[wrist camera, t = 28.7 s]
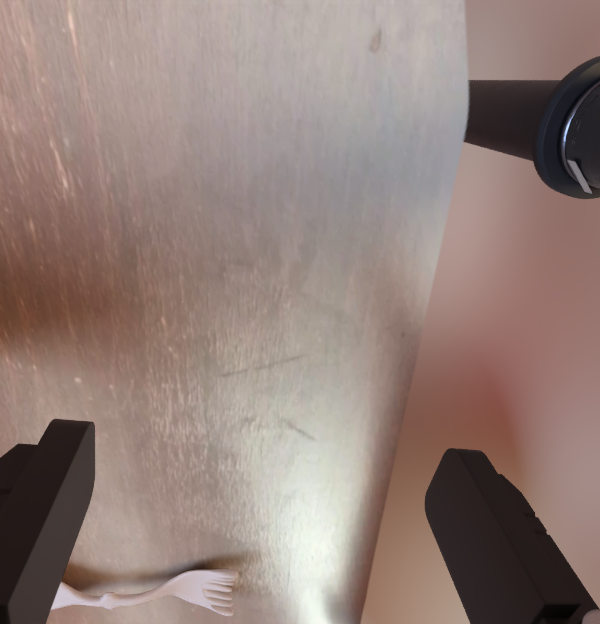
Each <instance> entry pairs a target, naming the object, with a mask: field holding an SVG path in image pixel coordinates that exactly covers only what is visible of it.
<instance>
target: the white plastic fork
mask: <svg viewBox="0 0 600 624" xmlns="http://www.w3.org/2000/svg"><path fill="white" fill-rule="evenodd" d="M237 577H238V572H236V571H234V570H229V569H214V570H191V571H187V572H184V573H181V574H179V575H177V576H176V577H174V578H172V579H171V580H169V581H167V582H165V583H164V584H162V585H160V586H158V587H156V588H154V589H152V590H150V591H147V592H144V593H140V594H132V595H121V594H115V593H113V592H107V593H105V594H104V595H103V596H91V595H87V594H84V593H81V592H79V591H77V590H75V589H74V588H72V587H70V586H69V585H67V584H66V583H64V582H62V581H61V583H60V586H59V588H58V591H57V594H56V597H55V599H54V602H53V605H52V607H51V610H54V609H57V608H61V607H65V606H69V605H74V604H79V605H88V606H100V607H104V608H106V609H114V608H115V607H119V606H128V605H137V604H142V603H146V602H149V601H152V600H154V599H157V598H159V597H162V596H165V595H175V596H178V597H180V598H182V599H184V600H186V601H188V602H191V603H194V604H197V605H201V606H204V607H206V608H209V609H211V610H213V611H215V612H217V613H220V614H222V615H225V616H232V615H233V614H234V610H233V609H231V608H228V607H231V606H233V604H232V603H231V602H229V601H227V600H232V599H233V598H232V597H231V596H230V595H228V594H226V593H224V592H231V591H232V589H231V588H230V587H229V586H227V585H234V582H232V581H235V580H236V579H235V578H237ZM222 591H223V592H222Z"/></svg>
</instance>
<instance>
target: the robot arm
mask: <svg viewBox="0 0 600 624" xmlns="http://www.w3.org/2000/svg"><path fill="white" fill-rule="evenodd" d="M557 155H558V160H559V163H560V166H561V168H562V170H563V171H564V173H565V174H566V175H567V176H568V177H569V178H570V179H571V180H573V181H574V182H577V183H579V184H581V186H582V188H583V189H584V191H585V192H588V193H591V194H592V192H591V190H590V188H589V187H594V188H599V189H600V78H599V79H597V80H596V81H594V82H593V83H592V84H590V85H589V86H588V87H587V88H585V89H584V90H583V91H582V92H581V93H580V95H579V96H578V97H577V98H576V99H575V101H574V102H573V103H572V105H571V106H570V108H569V109H568V111H567V113H566V115H565V117H564V119H563V121H562V124H561V127H560V130H559V134H558V140H557ZM94 480H95V425H94V423H93V422H88V421H75V420H62V419H54V420H52V421H51V422H50V424H49V425H48V427H47V429H46V431H45V432H44V434H43V436H42V438H41V440H40V441H39V443H38V445H31V444H17V445H16V446H15V447H13V448H12V449H11V450H10V451H8V452H7V453H6V454H5V455H3V456H2V457H1V458H0V624H46V621H47V618H48V616H49V613H50V610H51V607H52V605H53V602H54V599H55V597H56V594H57V591H58V588H59V586H60V583H61V580H62V577H63V575H64V572H65V569H66V567H67V564H68V561H69V558H70V556H71V553H72V550H73V547H74V545H75V542H76V539H77V537H78V534H79V531H80V528H81V526H82V523H83V520H84V517H85V515H86V512H87V509H88V506H89V503H90V500H91V496H92V492H93V487H94ZM425 512H426V516H427V519H428V522H429V524H430V527H431V529H432V532H433V534H434V536H435V539H436V541H437V544H438V546H439V549H440V551H441V553H442V556H443V558H444V561H445V563H446V566H447V568H448V570H449V573H450V575H451V578H452V580H453V582H454V585H455V587H456V590H457V592H458V594H459V597H460V599H461V602H462V604H463V607H464V609H465V611H466V614H467V616H468V619H469V621H470V624H600V609H599V608H598V606H597V605H596V603H595V602H594V601H593V599H592V598H591V596H590V595H589V593H588V592H587V590H586V589H585V587H584V586H583V584H582V583H581V581H580V580H579V578H578V577H577V575H576V574H575V572H574V571H573V569H572V568H571V566H570V565H569V563H568V562H567V560H566V559H565V557H564V556H563V554H562V553H561V551H560V550H559V548H558V547H557V545H556V544H555V542H554V541H553V539H552V538H551V536H550V535H547V533H546V531H547V530H546V529H545V527H544V526H543V524H542V523H541V521H540V520H539V518H538V517H535V512H534V511H533V509H532V508H531V506H530V505H529V503H528V502H527V500H526V499H525V497H524V496H523V494H522V493H521V492H520V491H519V490H518V489H517V488H516V487H515V486H514V485H513V484H512V483H511V482H509V481H508V480H507V479H506V478H505V477H504V476H503V475H502V474H498V473H497V472H496V470H495V469H494V467H493V465H492V464H491V462H490V461H489V459H488V458H487V456H486V455H485V454H484V453H483V452H482V451H478V450H467V449H454V448H450V449H448V450H447V451H446V452H445V453H444V455H443V457H442V459H441V461H440V464H439V466H438V468H437V470H436V472H435V474H434V476H433V479H432V481H431V483H430V485H429V487H428V490H427V492H426V496H425Z"/></svg>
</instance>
